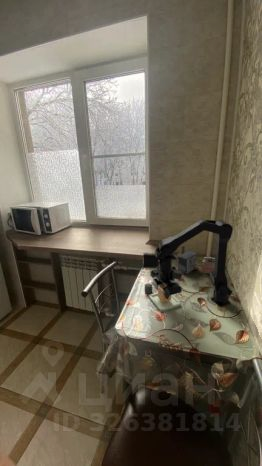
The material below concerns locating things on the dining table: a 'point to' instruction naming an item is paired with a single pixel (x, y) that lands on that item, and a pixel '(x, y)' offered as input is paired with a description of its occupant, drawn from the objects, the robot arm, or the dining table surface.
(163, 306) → the tray
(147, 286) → the dark rounded cylinder
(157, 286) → the box
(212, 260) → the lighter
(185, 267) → the small box
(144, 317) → the dining table surface
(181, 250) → the industrial component
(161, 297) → the square block
